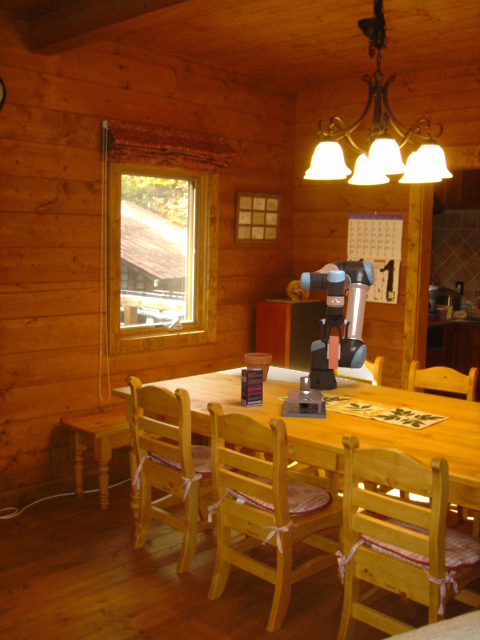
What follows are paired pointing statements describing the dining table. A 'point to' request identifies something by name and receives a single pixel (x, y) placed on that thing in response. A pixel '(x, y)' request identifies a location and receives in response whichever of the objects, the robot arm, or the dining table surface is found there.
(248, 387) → the supplement box
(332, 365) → the pink rectangular block
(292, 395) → the grey stand
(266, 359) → the flower pot
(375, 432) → the dining table surface
